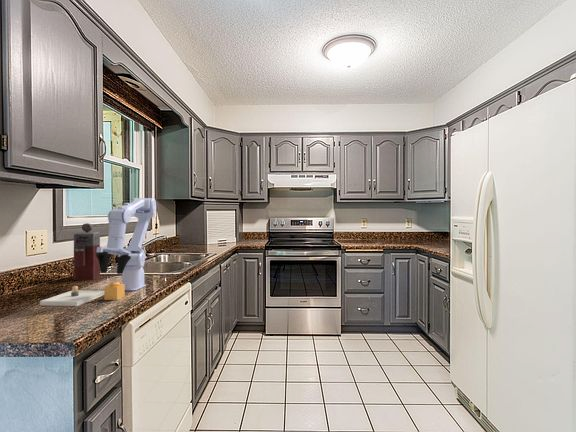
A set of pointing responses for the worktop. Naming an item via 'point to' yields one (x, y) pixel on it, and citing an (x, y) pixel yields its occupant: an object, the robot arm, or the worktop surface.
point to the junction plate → (73, 297)
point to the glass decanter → (86, 254)
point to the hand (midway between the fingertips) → (111, 273)
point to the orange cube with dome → (114, 291)
